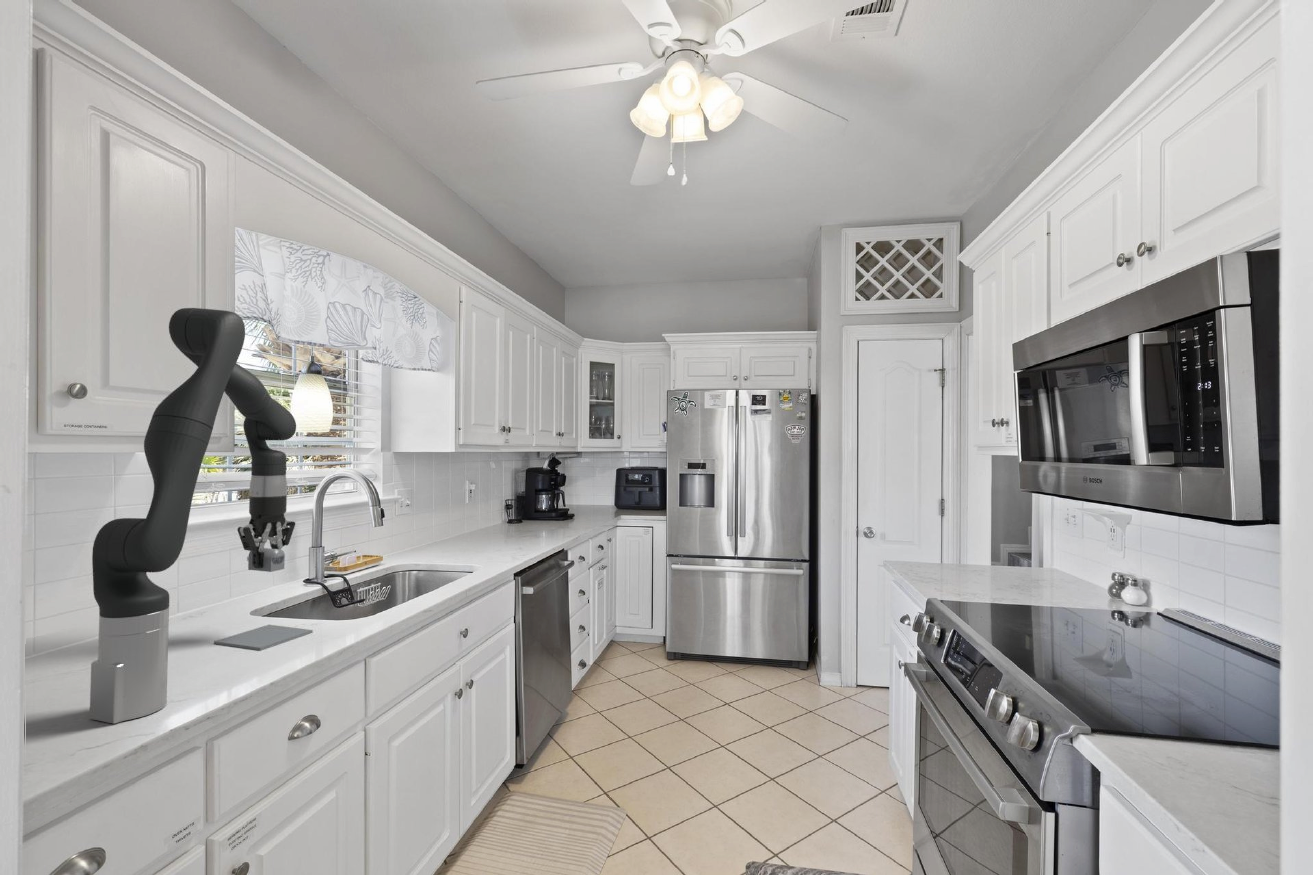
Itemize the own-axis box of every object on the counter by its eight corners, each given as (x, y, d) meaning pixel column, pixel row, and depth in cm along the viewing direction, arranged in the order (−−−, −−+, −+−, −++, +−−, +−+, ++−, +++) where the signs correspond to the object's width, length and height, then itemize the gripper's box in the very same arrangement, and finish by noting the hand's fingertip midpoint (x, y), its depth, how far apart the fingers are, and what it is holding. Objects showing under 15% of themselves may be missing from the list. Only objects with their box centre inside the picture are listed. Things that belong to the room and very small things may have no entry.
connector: (270, 571, 142) (271, 550, 142) (244, 569, 144) (244, 548, 144) (284, 569, 145) (284, 548, 145) (258, 566, 147) (258, 546, 147)
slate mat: (260, 650, 135) (260, 647, 135) (214, 643, 139) (214, 641, 139) (312, 632, 149) (312, 630, 149) (268, 626, 153) (268, 624, 153)
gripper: (252, 497, 137) (250, 573, 136) (305, 492, 150) (304, 562, 150) (228, 495, 139) (226, 570, 139) (282, 491, 152) (280, 560, 152)
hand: (266, 565), depth 144 cm, fingers closed on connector, 3 cm apart
